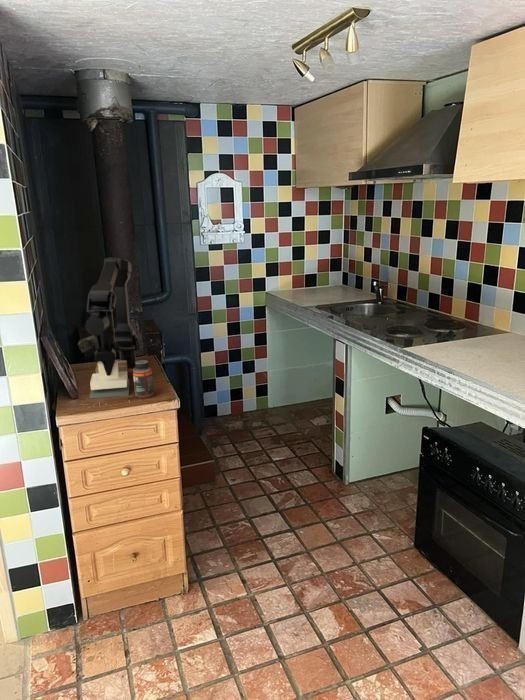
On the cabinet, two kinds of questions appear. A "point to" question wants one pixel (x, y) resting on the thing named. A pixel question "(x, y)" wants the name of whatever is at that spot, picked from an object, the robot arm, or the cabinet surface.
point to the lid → (108, 378)
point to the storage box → (121, 366)
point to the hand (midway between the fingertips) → (109, 373)
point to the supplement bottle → (143, 379)
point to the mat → (110, 392)
